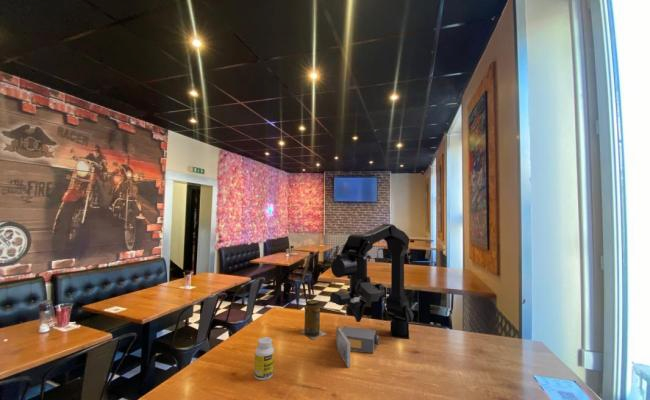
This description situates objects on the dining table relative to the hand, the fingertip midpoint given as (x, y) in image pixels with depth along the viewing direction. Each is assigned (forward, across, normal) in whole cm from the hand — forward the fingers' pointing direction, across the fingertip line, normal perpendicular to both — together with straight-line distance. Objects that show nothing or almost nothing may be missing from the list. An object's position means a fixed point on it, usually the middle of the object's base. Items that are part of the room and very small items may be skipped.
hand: (358, 321), depth 87 cm
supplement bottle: (+12, -29, +6) cm, 32 cm away
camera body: (+12, +6, +8) cm, 15 cm away
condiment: (+12, -4, +24) cm, 27 cm away
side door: (+11, -4, +3) cm, 13 cm away
